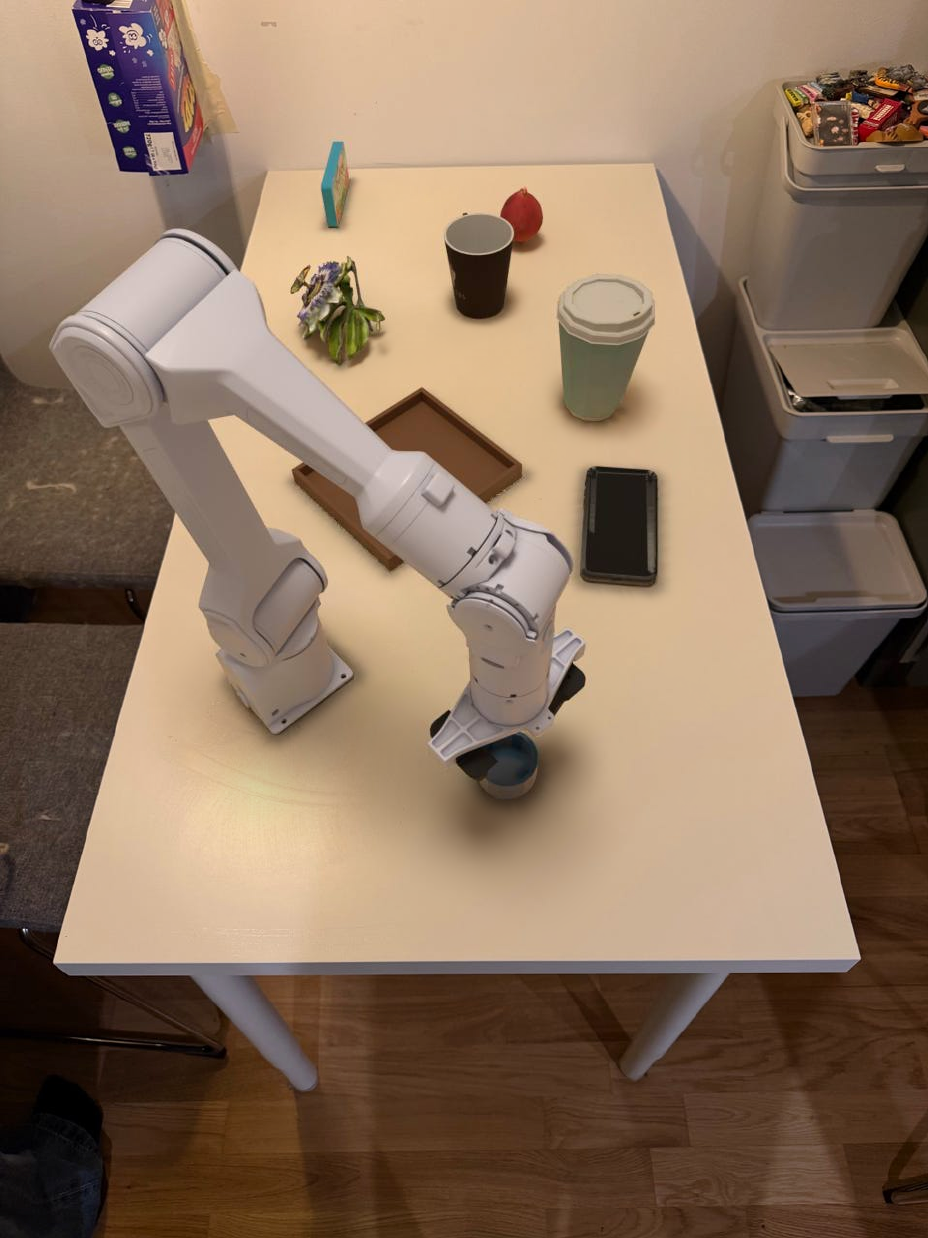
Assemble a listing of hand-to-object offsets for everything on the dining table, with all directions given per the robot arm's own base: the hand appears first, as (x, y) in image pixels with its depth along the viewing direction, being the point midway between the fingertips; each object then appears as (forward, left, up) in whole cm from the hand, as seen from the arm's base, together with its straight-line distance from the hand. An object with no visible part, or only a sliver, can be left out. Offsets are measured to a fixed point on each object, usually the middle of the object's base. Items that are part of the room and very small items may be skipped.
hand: (507, 742), depth 70 cm
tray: (+16, +33, -6) cm, 37 cm away
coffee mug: (+44, +51, -7) cm, 68 cm away
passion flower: (+26, +58, -7) cm, 64 cm away
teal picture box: (+43, +82, -7) cm, 93 cm away
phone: (+28, +12, -6) cm, 31 cm away
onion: (+56, +56, -7) cm, 80 cm away
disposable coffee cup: (+40, +27, -7) cm, 49 cm away
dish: (0, 0, -6) cm, 6 cm away
